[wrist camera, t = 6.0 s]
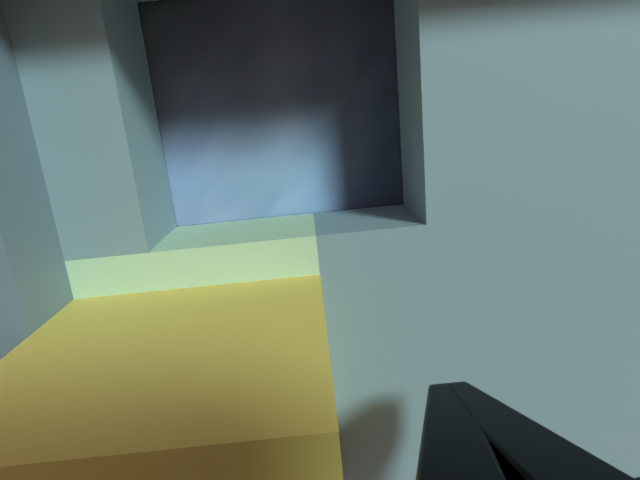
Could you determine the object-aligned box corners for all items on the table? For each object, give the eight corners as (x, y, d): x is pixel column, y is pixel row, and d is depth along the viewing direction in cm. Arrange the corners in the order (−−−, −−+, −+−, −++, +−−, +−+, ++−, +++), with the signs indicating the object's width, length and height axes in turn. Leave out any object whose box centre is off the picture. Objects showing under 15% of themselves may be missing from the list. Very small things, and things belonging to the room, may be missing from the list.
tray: (878, -124, 9) (1208, -259, 6) (754, 567, 14) (903, 716, 10) (-7, -44, 9) (-188, -135, 6) (157, 634, 13) (109, 807, 10)
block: (320, 274, 9) (339, 431, 4) (339, 479, 10) (370, 760, 6) (74, 298, 9) (-148, 481, 4) (123, 501, 10) (-16, 803, 6)
